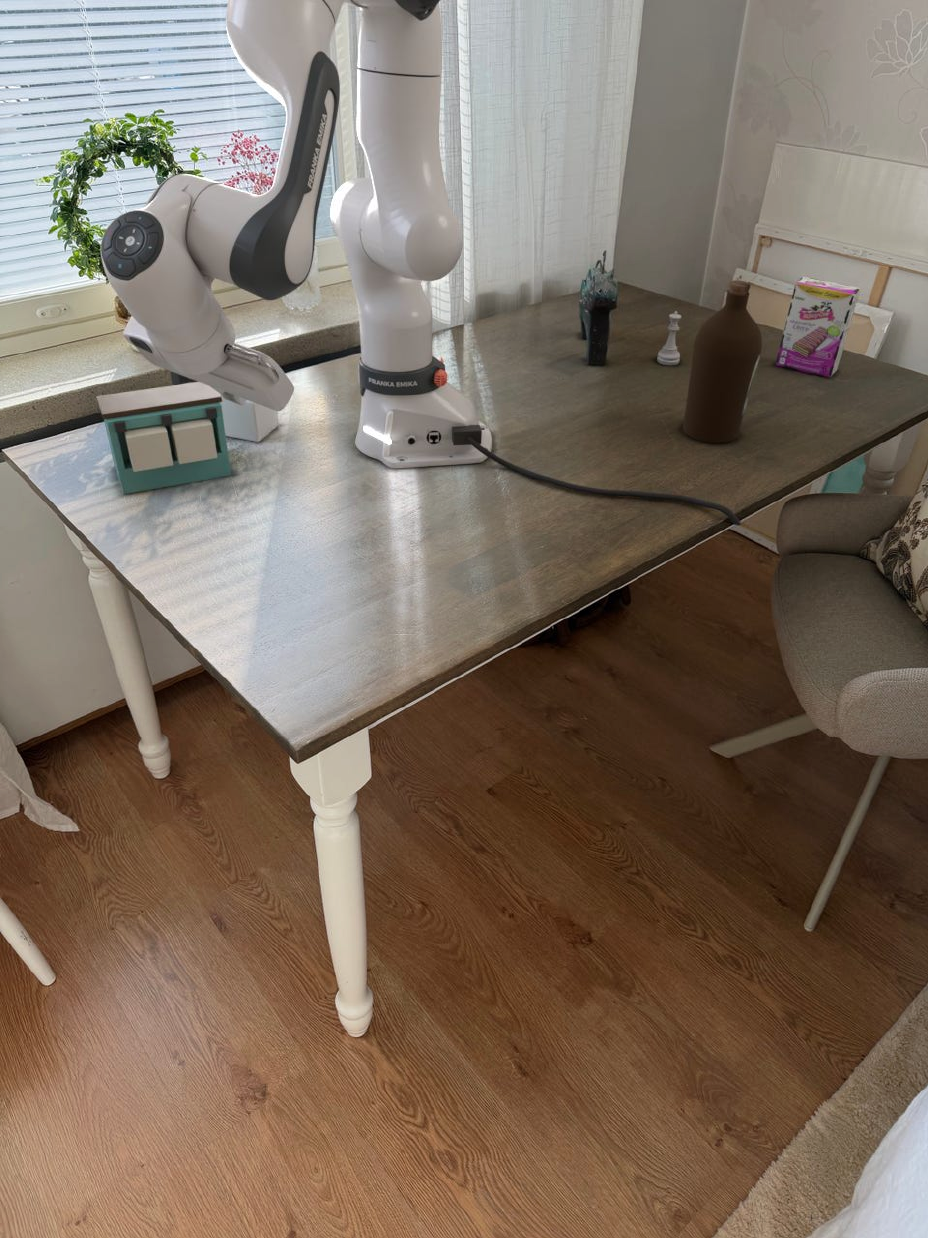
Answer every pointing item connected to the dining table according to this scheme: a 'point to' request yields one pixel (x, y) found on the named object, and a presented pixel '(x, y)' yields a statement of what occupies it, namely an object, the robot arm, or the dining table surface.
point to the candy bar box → (817, 326)
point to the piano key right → (193, 440)
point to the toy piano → (165, 410)
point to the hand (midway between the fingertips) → (236, 397)
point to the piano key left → (148, 447)
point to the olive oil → (723, 370)
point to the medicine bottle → (248, 420)
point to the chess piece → (670, 343)
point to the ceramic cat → (597, 311)
